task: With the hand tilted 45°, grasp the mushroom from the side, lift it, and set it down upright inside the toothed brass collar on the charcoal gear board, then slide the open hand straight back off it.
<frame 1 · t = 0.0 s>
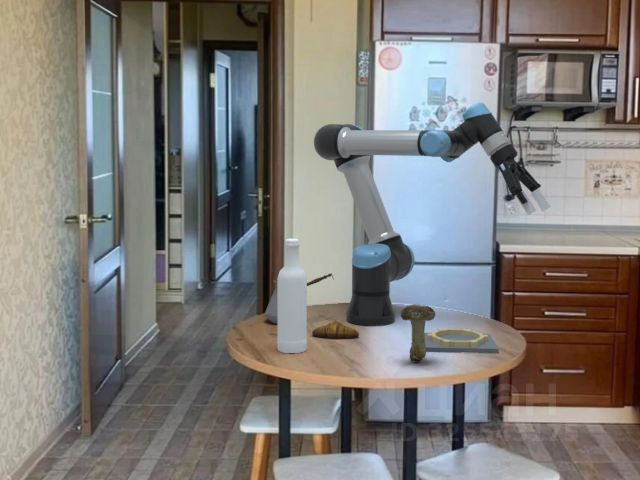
hand: (540, 210, 226), 36 cm above the table, tool tilted 35°, fingers open, 13 cm apart
gear board: (457, 344, 217), on the table
coffee pot: (299, 322, 244), on the table
mushroom: (417, 362, 200), on the table
croissant: (335, 338, 225), on the table
bottle: (292, 350, 211), on the table
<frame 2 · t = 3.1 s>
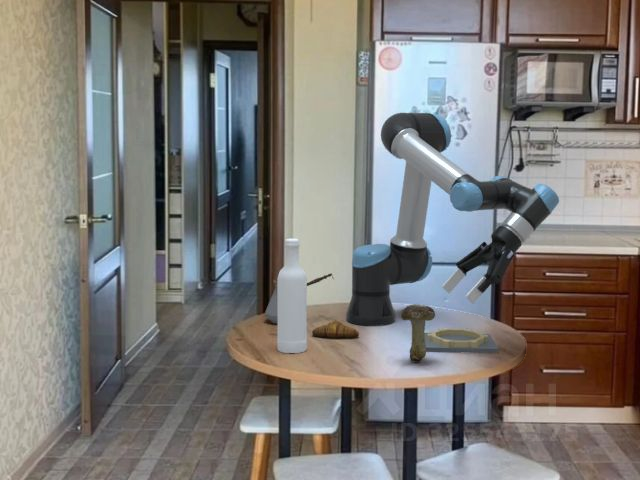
hand: (456, 294, 200), 17 cm above the table, tool tilted 45°, fingers open, 13 cm apart
nothing on the table moved.
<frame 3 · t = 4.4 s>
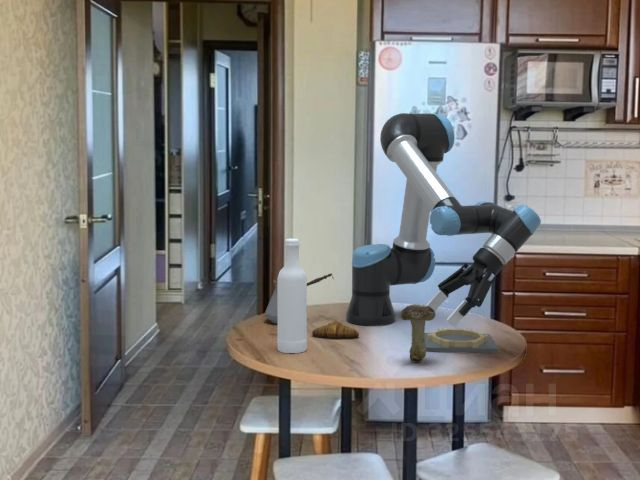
hand: (438, 317, 199), 12 cm above the table, tool tilted 45°, fingers open, 13 cm apart
nothing on the table moved.
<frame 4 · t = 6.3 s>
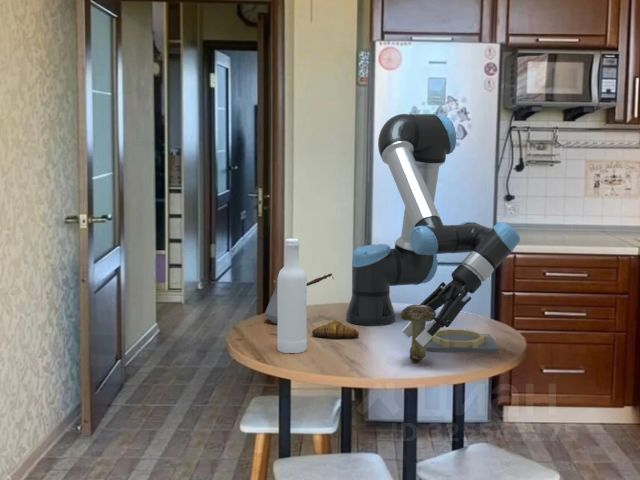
hand: (412, 338, 199), 6 cm above the table, tool tilted 45°, fingers closed on mushroom, 8 cm apart
mushroom: (417, 362, 200), on the table, touching gripper
everything else where it was.
when the fingers open (8 cm above the table, at t = 13.3 s): mushroom moves 1 cm, resting on gear board.
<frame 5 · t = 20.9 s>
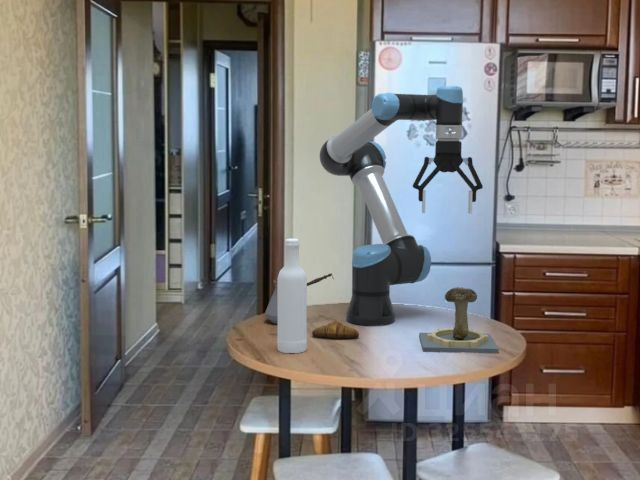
hand: (446, 213, 231), 35 cm above the table, tool pointing down, fingers open, 13 cm apart
mushroom: (460, 341, 216), point 1 cm above the table, touching gear board
everything else where it was.
at the end: mushroom 0.9 cm off-centre on the gear board, point 1.0 cm above the gear board's base; mushroom tilted 0°; the gripper is holding nothing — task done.
